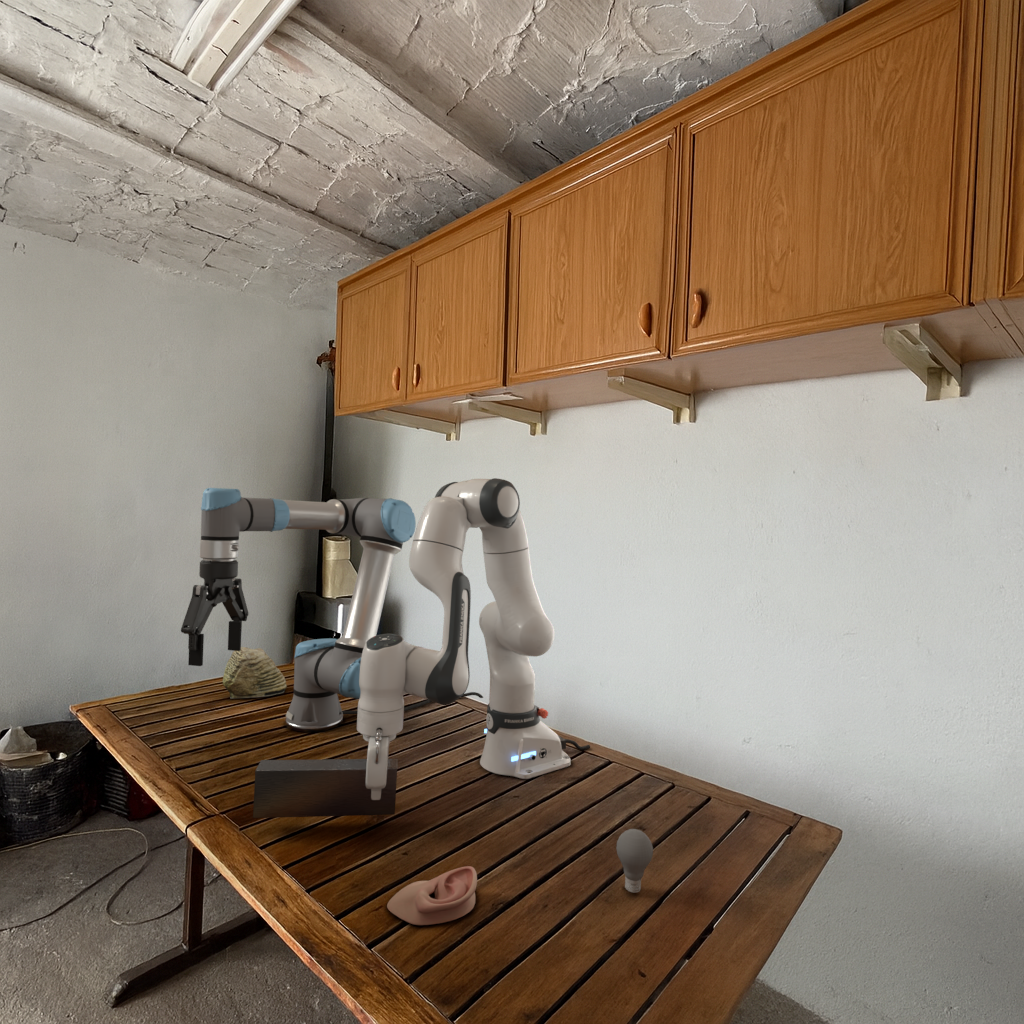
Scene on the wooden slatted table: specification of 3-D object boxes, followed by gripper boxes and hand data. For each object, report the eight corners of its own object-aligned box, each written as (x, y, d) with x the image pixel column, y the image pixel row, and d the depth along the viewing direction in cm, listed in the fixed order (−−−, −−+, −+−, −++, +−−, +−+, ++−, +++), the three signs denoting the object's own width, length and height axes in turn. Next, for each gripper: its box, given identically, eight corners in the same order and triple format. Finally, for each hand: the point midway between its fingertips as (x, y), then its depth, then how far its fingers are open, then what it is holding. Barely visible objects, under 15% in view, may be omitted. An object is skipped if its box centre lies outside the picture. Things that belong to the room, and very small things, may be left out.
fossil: (218, 695, 195) (220, 647, 195) (278, 685, 208) (279, 640, 207) (228, 703, 189) (230, 653, 188) (289, 692, 201) (290, 645, 201)
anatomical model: (379, 892, 96) (407, 852, 107) (378, 918, 96) (406, 875, 107) (464, 907, 93) (483, 864, 104) (463, 934, 93) (482, 888, 104)
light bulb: (610, 879, 108) (613, 822, 108) (644, 879, 109) (647, 822, 109) (619, 902, 102) (622, 840, 102) (655, 901, 103) (658, 840, 103)
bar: (252, 818, 117) (255, 770, 117) (258, 805, 122) (261, 760, 121) (394, 814, 121) (397, 768, 121) (395, 802, 126) (397, 758, 126)
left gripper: (198, 566, 124) (194, 674, 124) (266, 555, 148) (263, 645, 149) (163, 563, 125) (159, 670, 125) (236, 554, 149) (233, 643, 150)
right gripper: (395, 740, 113) (391, 817, 113) (397, 703, 133) (394, 768, 133) (359, 740, 112) (355, 818, 112) (367, 703, 132) (363, 769, 132)
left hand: (215, 657), depth 137 cm, fingers open, 13 cm apart
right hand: (376, 790), depth 123 cm, fingers closed on bar, 5 cm apart
